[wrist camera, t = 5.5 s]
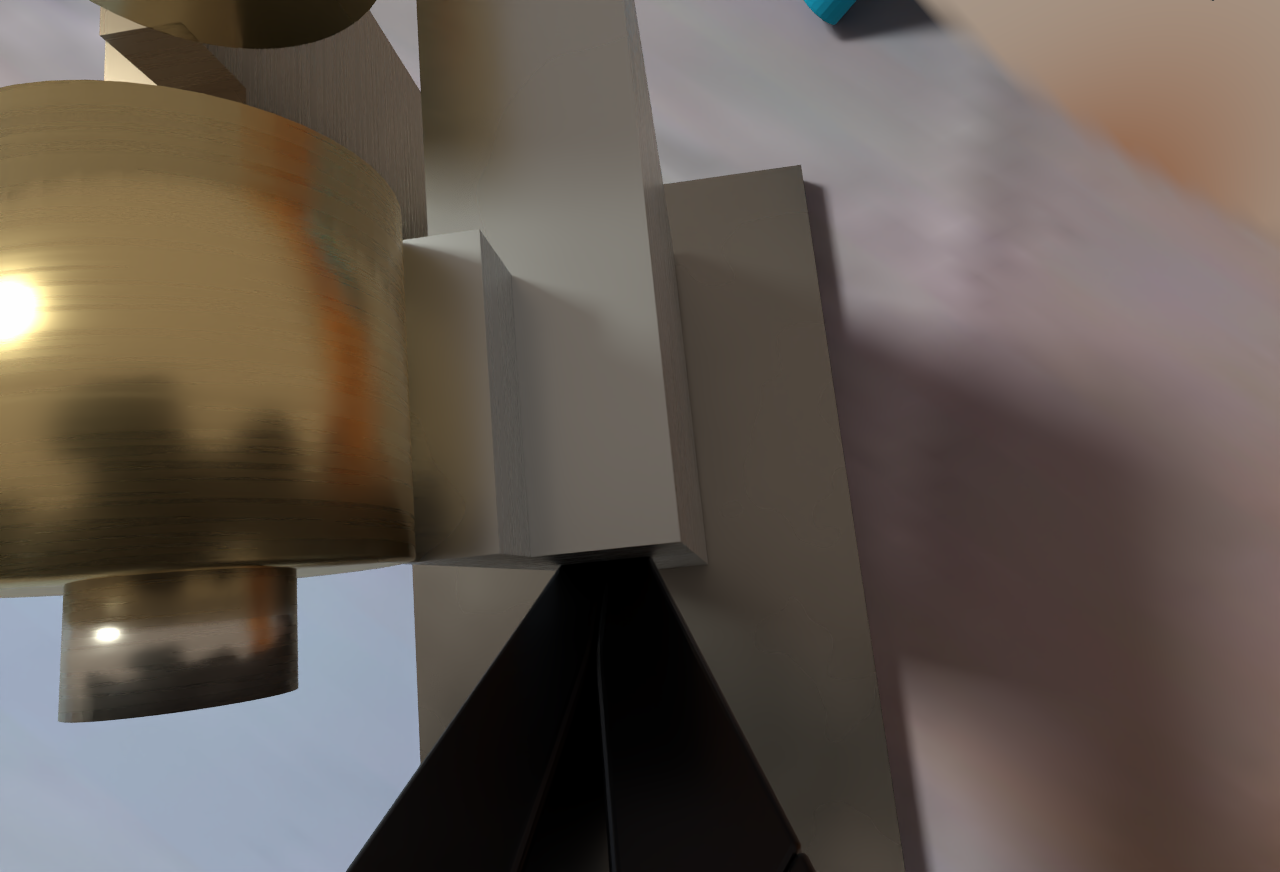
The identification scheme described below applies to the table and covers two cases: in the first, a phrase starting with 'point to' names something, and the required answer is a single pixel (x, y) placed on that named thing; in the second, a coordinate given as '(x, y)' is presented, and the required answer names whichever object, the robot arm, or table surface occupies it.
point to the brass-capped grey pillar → (332, 351)
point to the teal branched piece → (831, 9)
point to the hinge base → (720, 407)
